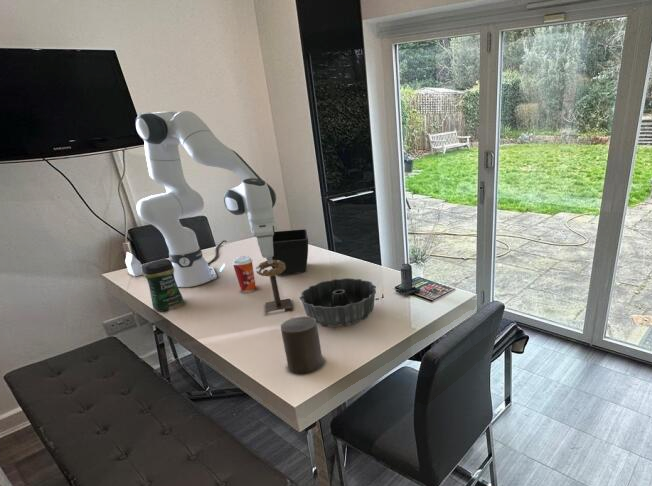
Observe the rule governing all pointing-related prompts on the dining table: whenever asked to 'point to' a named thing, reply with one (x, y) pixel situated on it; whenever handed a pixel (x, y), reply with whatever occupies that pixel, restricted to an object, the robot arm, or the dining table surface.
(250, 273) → the paper cup
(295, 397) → the dining table surface
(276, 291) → the post
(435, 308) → the dining table surface
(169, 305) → the coffee jar
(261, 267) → the ring
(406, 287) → the grey tower model
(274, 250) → the flower pot
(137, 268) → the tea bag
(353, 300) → the bundt pan
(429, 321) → the dining table surface
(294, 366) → the pillar candle
